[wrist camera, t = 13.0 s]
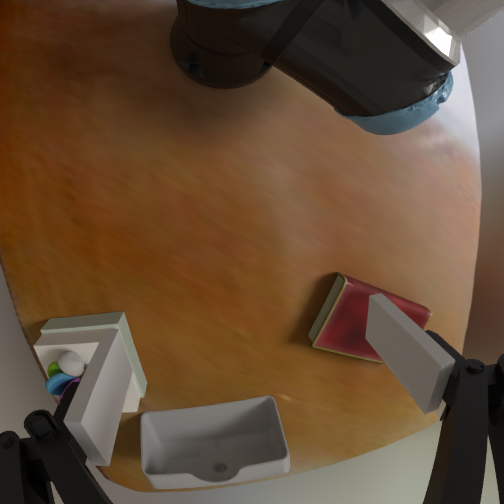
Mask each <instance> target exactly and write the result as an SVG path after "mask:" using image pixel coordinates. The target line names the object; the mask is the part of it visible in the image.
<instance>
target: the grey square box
mask: <svg viewBox="0 0 504 504" xmlns="http://www.w3.org/2000/svg"><path fill="white" fill-rule="evenodd" d="M106 329H119V330H120V333H121V336H122V339H123V343H124V346H125V349H126V352H127V355H128V358H129V361H130V363H131V366H132V369H133V373H132V377H131V380H130V384H129V387H128V391H127V395H126V398H125V402H124V406H123V410H122V412H137V410H138V405H139V400H140V398H143V397H144V396H145V391H146V386H147V381H146V378H145V375H144V373H143V370H142V367H141V364H140V361H139V358H138V355H137V352H136V349H135V346H134V343H133V340H132V337H131V333H130V330H129V327H128V323H127V320H126V317H125V313H124V311H121V312H112V313H103V314H94V315H84V316H74V317H64V318H53V319H49V320H48V321H47V323H46V324H45V325H44V326H43V327H42V329H41V330H40V331H41V334H42V336H41V337H40V338H39V339H38V341H37V342H36V343H35V344H34V349H35V351H36V353H37V355H38V358H39V360H40V362H41V364H42V366H43V369H44V371H45V373H46V375H47V377H48V374H47V369H48V366H49V365H50V364H51V363H52V362H55V361H57V358H58V356H59V355H60V354H61V353H62V352H64V351H73V352H75V353H77V354H78V355H79V356H80V357H81V359H82V360H83V363H84V371H83V373H82V374H81V375H80V376H78V377H79V378H80V379H81V380H82V377H83V375H84V373H85V371H86V369H87V367H88V365H89V362H90V360H91V358H92V356H93V354H94V352H95V350H96V348H97V346H98V344H99V342H100V340H101V338H102V336H103V334H104V332H105V330H106ZM48 379H49V377H48Z"/></svg>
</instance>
